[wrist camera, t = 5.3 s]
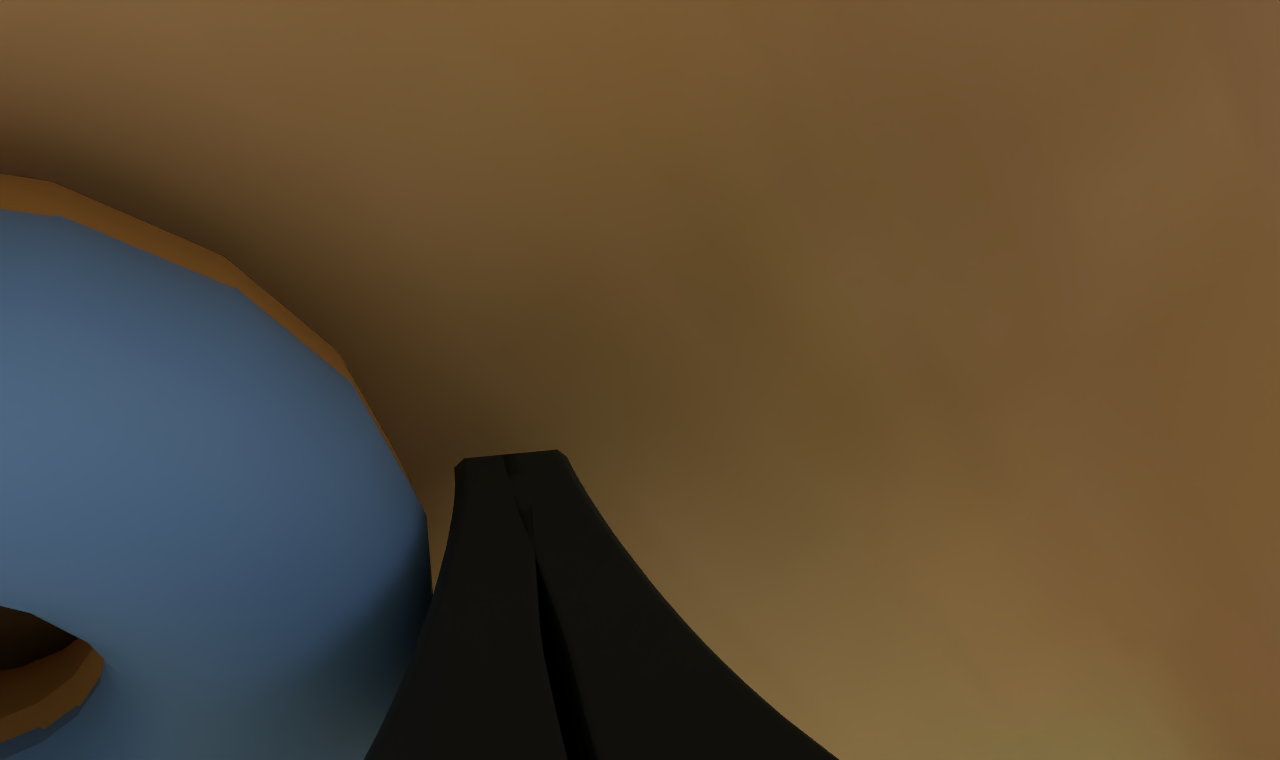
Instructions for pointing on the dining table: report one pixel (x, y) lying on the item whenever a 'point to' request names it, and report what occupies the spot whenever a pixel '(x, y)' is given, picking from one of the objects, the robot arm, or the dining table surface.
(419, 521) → the doughnut
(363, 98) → the dining table surface
